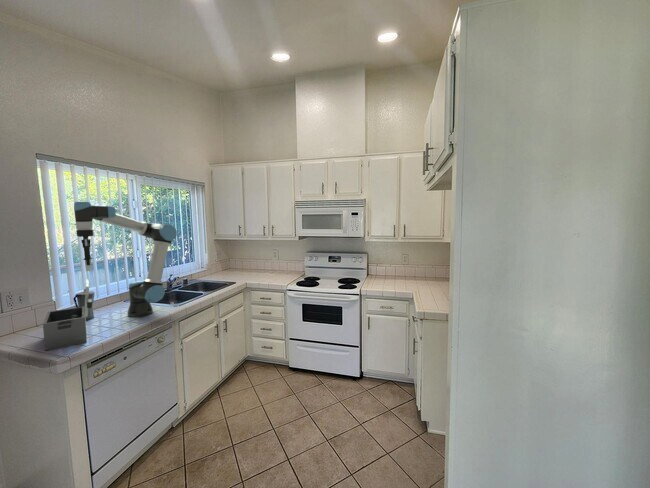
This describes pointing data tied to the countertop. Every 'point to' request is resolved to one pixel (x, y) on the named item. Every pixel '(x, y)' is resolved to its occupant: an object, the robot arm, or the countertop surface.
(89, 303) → the cream box lid
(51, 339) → the storage box
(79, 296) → the moka pot
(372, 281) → the countertop surface
